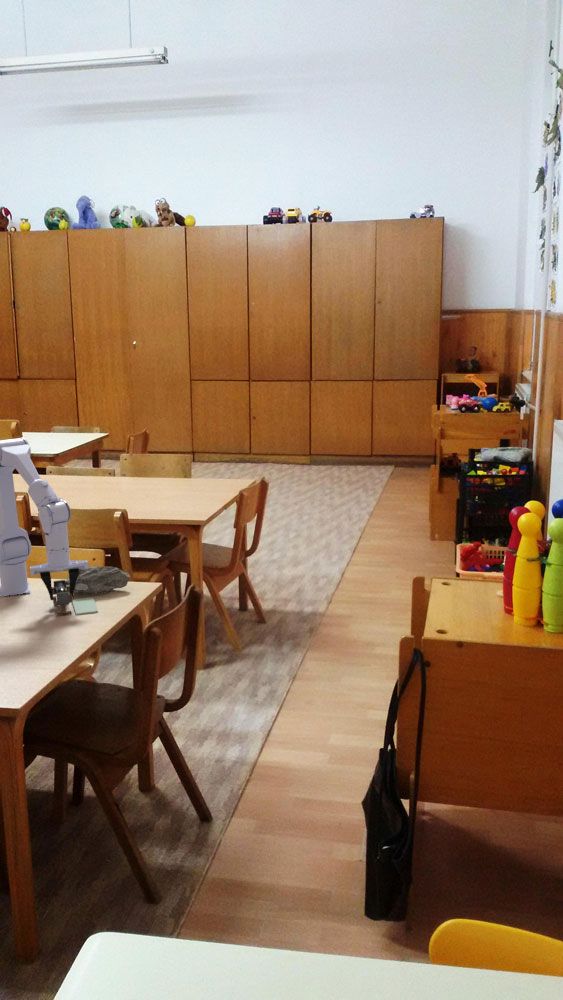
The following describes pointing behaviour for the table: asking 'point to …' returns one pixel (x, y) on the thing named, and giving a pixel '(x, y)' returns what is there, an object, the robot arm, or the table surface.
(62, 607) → the rail stand
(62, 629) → the table surface
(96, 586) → the rock
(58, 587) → the column with square cap
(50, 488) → the robot arm
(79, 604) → the mat
